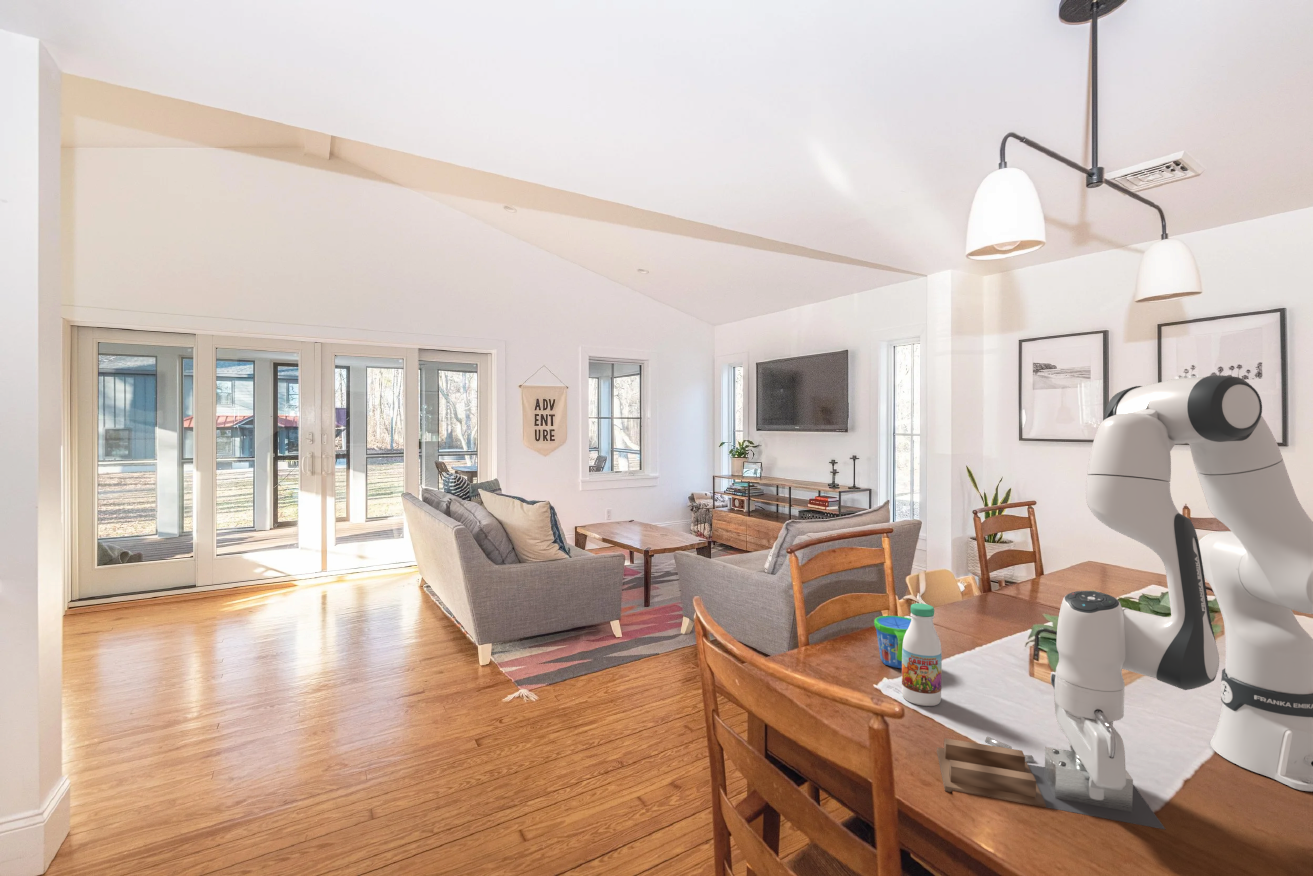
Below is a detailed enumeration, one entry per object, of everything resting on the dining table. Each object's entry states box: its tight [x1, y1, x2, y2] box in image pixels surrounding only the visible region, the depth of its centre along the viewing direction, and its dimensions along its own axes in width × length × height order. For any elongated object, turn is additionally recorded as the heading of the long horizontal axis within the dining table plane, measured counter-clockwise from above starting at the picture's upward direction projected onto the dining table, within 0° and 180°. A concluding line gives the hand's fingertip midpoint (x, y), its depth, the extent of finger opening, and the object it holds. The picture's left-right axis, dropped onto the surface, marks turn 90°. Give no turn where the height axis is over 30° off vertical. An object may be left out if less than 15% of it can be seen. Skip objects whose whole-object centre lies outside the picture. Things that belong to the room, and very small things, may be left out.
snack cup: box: [873, 615, 912, 669], centre depth 146 cm, size 16×10×10 cm
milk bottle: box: [901, 602, 943, 707], centre depth 128 cm, size 8×8×20 cm
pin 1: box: [984, 736, 1013, 749], centre depth 109 cm, size 4×1×1 cm
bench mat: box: [1027, 763, 1166, 830], centre depth 95 cm, size 16×12×1 cm
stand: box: [936, 737, 1046, 808], centre depth 100 cm, size 14×12×3 cm
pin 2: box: [1024, 754, 1035, 764], centre depth 105 cm, size 4×1×1 cm, turn 83°
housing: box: [1044, 746, 1134, 812], centre depth 95 cm, size 10×6×6 cm, turn 71°
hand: (1086, 782), depth 95 cm, fingers closed on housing, 6 cm apart
